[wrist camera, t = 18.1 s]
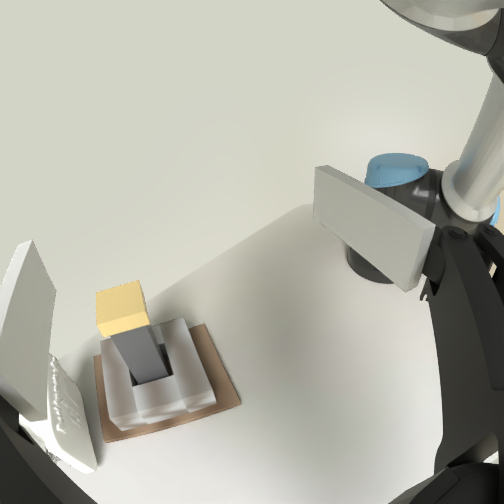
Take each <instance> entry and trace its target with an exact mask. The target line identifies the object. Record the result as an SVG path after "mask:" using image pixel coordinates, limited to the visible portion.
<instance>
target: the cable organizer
mask: <svg viewBox="0 0 504 504" xmlns="http://www.w3.org/2000/svg"><path fill="white" fill-rule="evenodd" d="M47 415H48V420H43V421H37V422H29V421H28V420H26V419H25V418H24V417H23V416H22V415H21V414H19V424H20V425H22V426H23V427H24V428H25V429H26V430H27V431H28V433H29V434H30V435H31V436H32V438H33V439H34V440H35V441H36V442H37V444H38V445H39V446H40V447H41V448H42V449H43V451H44V452H45V453H46V448H47V450H48V452H51V453H53V454H54V455H56V456H57V457H59V458H60V459H62V460H63V461H65V462H67V463H68V464H69V465H70V466H73V467H75V468H76V469H78V470H80V471H81V472H83V473H90V472H94V471H96V470H97V461H96V457H95V454H94V450H93V446H92V442H91V438H90V434H89V430H88V425H87V421H86V416H85V411H84V406H83V401H82V397H81V394H80V391H79V389H78V387H77V386H76V385H75V383H74V382H73V381H72V380H71V379H70V377H69V376H68V375H67V374H66V372H65V371H64V370H63V369H62V367H61V366H60V365H59V364H58V360H57V359H56V357H55V356H52V354H50V353H49V360H48V382H47ZM52 461H53V462H54V460H52Z"/></svg>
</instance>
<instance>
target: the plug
mask: <svg viewBox="0 0 504 504" xmlns="http://www.w3.org/2000/svg"><path fill="white" fill-rule="evenodd" d="M96 319H97V320H96V321H97V327H98V328H99V330H100V332H101V334H102V336H103V337H107V336H110V337H111V339H112V340H113V342H114V344H115V346H116V347H117V349H118V351H119V353H120V354H121V356H122V358H123V359H124V361H125V363H126V364H127V366H128V368H129V369H130V371H131V373H132V374H133V376H134V377H135V379H136V381H137V382H138V384H139V385H141V384H145V383H148V382H152V381H155V380H159V379H162V378H166V377H169V376H171V374H170V371H169V368H168V365H167V362H166V360H165V358H164V356H163V354H162V351H161V349H160V347H159V344H158V342H157V340H156V337H155V335H154V333H153V330H152V328H151V326H150V321H149V317H148V312H147V308H146V303H145V299H144V294H143V291H142V288H141V285H140V282H139V280H137V281H134V282H130V283H127V284H124V285H120V286H117V287H113V288H110V289H107V290H104V291H100V292H97V293H96Z"/></svg>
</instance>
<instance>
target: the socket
mask: <svg viewBox="0 0 504 504" xmlns="http://www.w3.org/2000/svg"><path fill="white" fill-rule="evenodd" d="M151 328H152V330H153V333H154V335H155V337H156V340H157V342H158V344H159V347H160V349H161V351H162V354H163V356H164V358H165V360H166V362H167V365H168V368H169V371H170V374H171V376H169V377H166V378H162V379H159V380H155V381H152V382H148V383H145V384H141V385H139V384H138V382H137V381H136V379H135V377H134V376H133V374H132V373H131V371H130V369H129V368H128V366H127V364H126V363H125V361H124V359H123V358H122V356H121V354H120V353H119V351H118V349H117V347H116V346H115V344H114V342H113V340H112V339H111V338H110V339H106V340H103V341H100V344H101V355H97V356H94V368H95V379H96V389H97V398H98V406H99V413H100V420H101V426H102V433H103V438H104V441H105V442H106V443H109V442H114V441H119V440H124V439H128V438H132V437H137V436H141V435H145V434H149V433H153V432H157V431H160V430H164V429H168V428H171V427H175V426H178V425H181V424H185V423H188V422H191V421H194V420H198V419H201V418H204V417H207V416H210V415H213V414H216V413H219V412H221V411H224V410H227V409H230V408H233V407H235V406H238V405H241V402H240V400H239V398H238V396H237V394H236V392H235V390H234V387H233V385H232V383H231V381H230V379H229V377H228V375H227V373H226V371H225V369H224V367H223V365H222V362H221V360H220V358H219V356H218V354H217V352H216V349H215V347H214V345H213V343H212V341H211V338H210V336H209V334H208V332H207V329H206V327H205V325H204V324H202V325H199V326H196V327H193V328H190V329H188V328H187V325H186V322H185V320H184V317H181V318H178V319H174V320H171V321H168V322H165V323H161V324H158V325H155V326H151Z"/></svg>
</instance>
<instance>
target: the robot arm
mask: <svg viewBox="0 0 504 504" xmlns="http://www.w3.org/2000/svg"><path fill="white" fill-rule="evenodd" d="M380 1H381V2H382V3H383V4H385V5H386V6H387V7H388V8H389V9H390V10H392V11H393V12H395V13H396V14H397V15H398V16H400V17H401V18H403V19H404V20H406V21H408V22H409V23H411V24H413V25H415V26H416V27H418V28H420V29H422V30H424V31H426V32H428V33H429V34H431V35H433V36H435V37H438V38H440V39H442V40H444V41H446V42H448V43H450V44H453V45H455V46H458V47H460V48H463V49H465V50H468V51H471V52H474V53H477V54H481V55H483V56H486V58H487V62H488V65H489V67H490V69H491V70H492V72H493V74H494V75H493V78H492V81H491V83H490V86H489V89H488V92H487V95H486V98H485V100H484V103H483V106H482V108H481V111H480V113H479V116H478V118H477V121H476V123H475V126H474V128H473V130H472V132H471V135H470V137H469V139H468V142H467V144H466V146H465V148H464V151H463V153H462V155H461V157H460V159H459V160H456V161H454V162H452V163H451V164H450V165H448V167H446V169H445V171H440V170H436V169H430V168H429V166H428V163H427V161H426V160H425V159H423V158H421V157H419V156H414V155H411V154H404V153H388V154H382V155H378V156H376V157H374V158H373V159H371V160H370V162H369V164H368V168H367V174H366V178H365V184H364V183H362V182H360V181H358V180H356V179H354V178H352V177H350V176H348V175H347V174H345V173H342V172H341V171H339V170H336V169H334V168H332V167H330V166H328V165H326V166H319V167H315V184H314V209H313V218H314V219H316V220H317V221H318V222H319V223H321V224H322V225H323V226H325V227H326V228H327V229H328V230H330V231H331V232H332V233H334V234H335V235H336V236H337V237H339V238H340V239H341V240H343V241H344V242H345V243H346V244H348V245H349V250H348V257H347V258H348V263H349V265H350V266H351V268H352V269H353V270H354V271H355V272H356V273H358V274H359V275H361V276H362V277H364V278H366V279H368V280H371V281H374V282H378V283H386V284H392V283H395V284H396V285H397V286H398V287H400V288H401V289H402V290H403V291H404V292H405V293H406V292H407V291H409V290H411V289H413V288H415V287H416V286H418V283H419V280H420V277H421V274H422V273H423V274H424V275H425V276H426V277H427V279H426V282H425V284H424V287H423V290H422V293H421V295H420V300H421V301H422V300H423V297H424V295H425V294H427V298H426V301H428V302H429V307H430V312H431V318H432V324H433V329H434V336H435V342H436V349H437V357H438V365H439V374H440V384H441V397H442V414H443V438H442V441H441V444H440V446H439V448H438V450H437V453H436V457H435V465H434V475H433V476H432V477H430V478H428V479H426V480H425V481H423V482H421V483H419V484H417V485H416V486H414V487H412V488H410V489H408V490H406V491H405V492H404V493H402V494H401V495H400V496H398V497H397V498H396V499H394V500H393V501H391V502H390V503H389V504H504V235H503V234H502V233H501V232H500V231H499V230H498V229H496V228H495V227H494V224H495V223H497V220H498V217H499V212H500V198H499V194H500V192H501V191H502V190H503V189H504V0H380ZM493 262H494V264H495V265H496V266H497V268H496V270H495V273H494V275H493V277H492V278H491V276H490V274H489V271H490V269H491V267H492V264H493ZM55 296H56V289H55V287H54V285H53V283H52V281H51V280H50V277H49V276H48V273H47V271H46V269H45V267H44V265H43V263H42V260H41V258H40V256H39V254H38V251H37V249H36V247H35V244H34V242H33V240H30V241H27V242H24V243H21V244H19V245H18V247H17V248H16V251H15V253H14V255H13V257H12V260H11V262H10V264H9V267H8V269H7V272H6V274H5V276H4V279H3V281H2V284H1V287H0V504H97V503H96V502H95V501H94V500H93V499H92V498H90V497H89V496H88V495H87V494H86V493H85V492H84V491H83V490H82V489H80V488H79V487H78V486H77V485H76V484H75V483H74V482H73V481H72V480H71V479H70V478H69V477H68V476H67V475H66V474H65V473H64V472H63V471H62V470H61V469H60V468H59V467H58V466H57V465H56V464H55V463H54V462H53V461H52V460H51V458H50V457H49V456H48V455H47V454H46V453H45V452H44V451H43V449H42V448H41V447H40V446H39V445H38V444H37V442H36V441H35V440H34V439H33V438H32V436H31V435H30V434H29V433H28V431H27V430H26V429H25V428H24V427H23V426H22V425H20V424H19V414H21V415H22V416H23V417H24V418H25V419H26V420H28V421H29V422H37V421H43V420H48V415H47V382H48V360H49V346H50V334H51V325H52V317H53V309H54V302H55ZM497 451H498V455H499V464H492V463H483V461H484V460H485V459H486V458H488V457H489V456H491V455H492V454H494V453H495V452H497Z"/></svg>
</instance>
